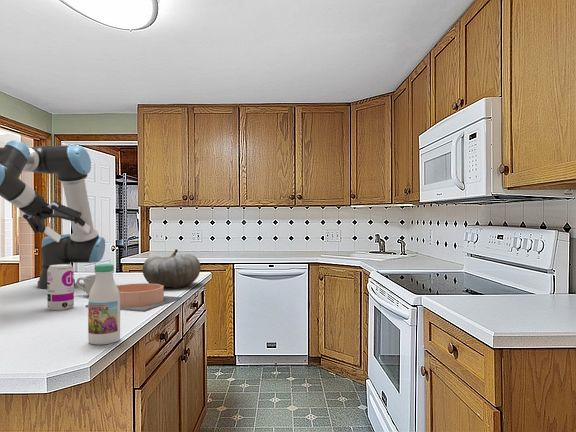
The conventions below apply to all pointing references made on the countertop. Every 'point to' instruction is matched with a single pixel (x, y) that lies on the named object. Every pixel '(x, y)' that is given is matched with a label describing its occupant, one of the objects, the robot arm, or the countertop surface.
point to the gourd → (172, 270)
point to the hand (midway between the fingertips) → (73, 234)
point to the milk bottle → (104, 307)
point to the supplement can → (60, 287)
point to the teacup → (86, 283)
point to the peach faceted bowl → (142, 296)
